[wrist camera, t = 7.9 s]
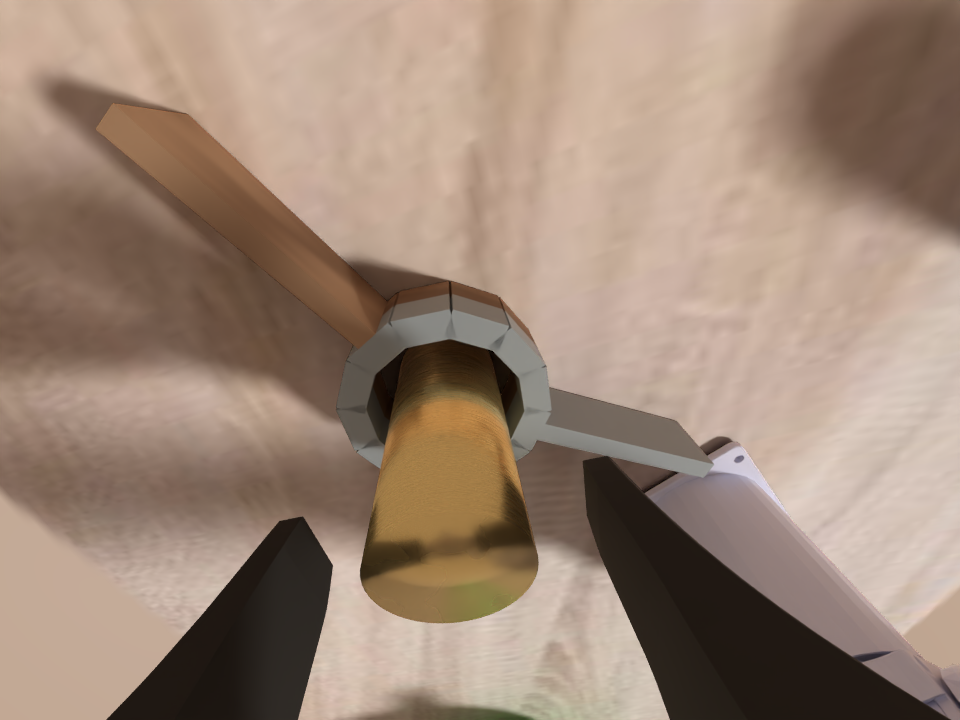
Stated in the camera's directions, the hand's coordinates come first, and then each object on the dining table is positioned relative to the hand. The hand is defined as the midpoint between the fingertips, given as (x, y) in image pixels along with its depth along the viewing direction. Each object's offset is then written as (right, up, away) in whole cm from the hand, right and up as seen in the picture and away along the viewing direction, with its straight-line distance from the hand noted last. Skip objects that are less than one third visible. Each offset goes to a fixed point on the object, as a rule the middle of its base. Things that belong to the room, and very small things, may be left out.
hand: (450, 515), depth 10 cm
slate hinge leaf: (+2, +2, +8) cm, 8 cm away
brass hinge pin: (-1, +3, +7) cm, 8 cm away
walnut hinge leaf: (-3, +6, +5) cm, 9 cm away
